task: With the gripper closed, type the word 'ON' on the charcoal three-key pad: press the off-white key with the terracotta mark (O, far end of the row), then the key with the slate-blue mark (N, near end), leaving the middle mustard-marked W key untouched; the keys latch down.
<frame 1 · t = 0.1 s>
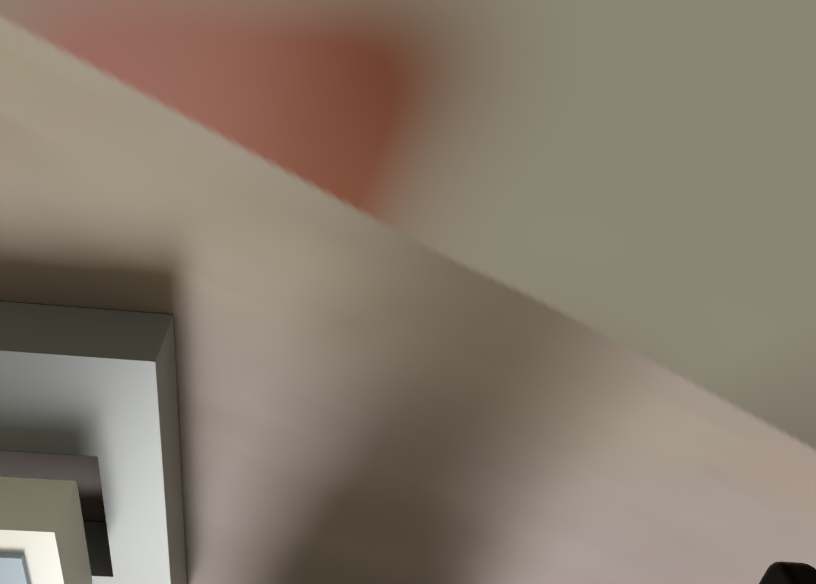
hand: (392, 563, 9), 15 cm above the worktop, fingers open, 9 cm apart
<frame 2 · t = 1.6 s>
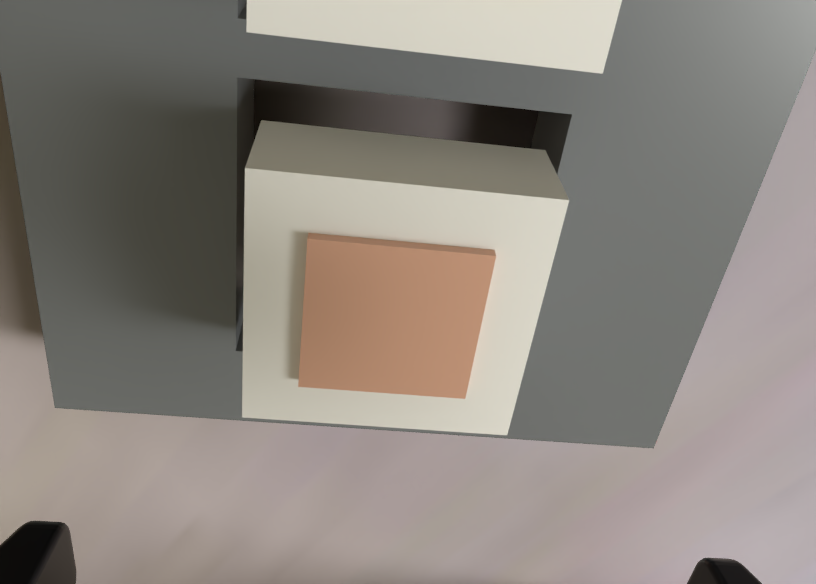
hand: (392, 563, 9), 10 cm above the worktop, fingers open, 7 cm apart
key O: (390, 289, 14), point 4 cm above the worktop, slide at 0.0 cm
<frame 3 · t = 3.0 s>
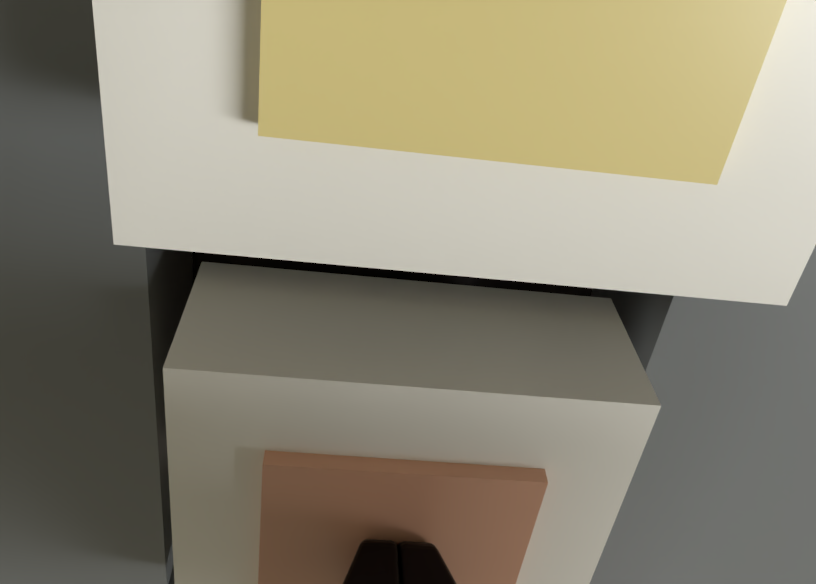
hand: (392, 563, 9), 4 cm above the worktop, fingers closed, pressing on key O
key O: (389, 493, 10), point 3 cm above the worktop, slide at 1.1 cm, touching gripper
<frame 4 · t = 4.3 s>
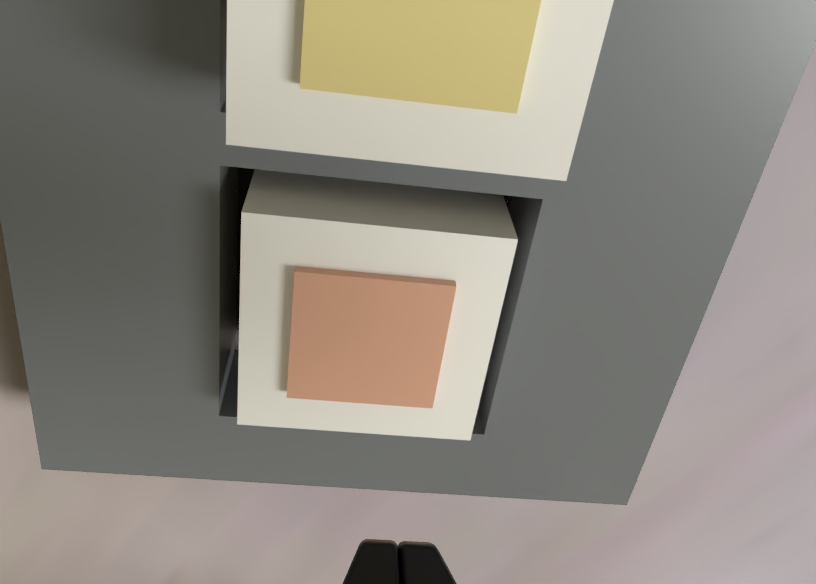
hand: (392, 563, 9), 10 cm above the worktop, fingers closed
key O: (367, 312, 16), point 2 cm above the worktop, slide at 1.8 cm
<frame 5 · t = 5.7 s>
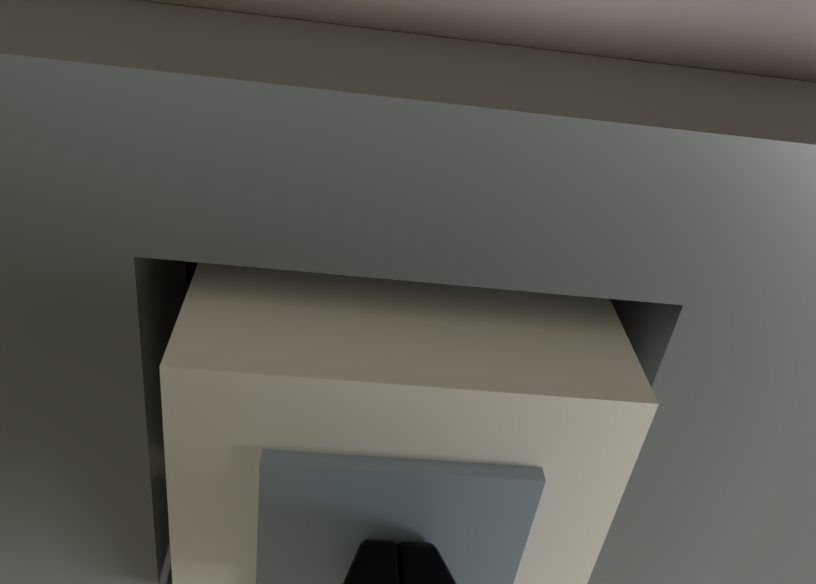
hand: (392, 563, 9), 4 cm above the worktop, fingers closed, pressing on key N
key N: (387, 492, 10), point 3 cm above the worktop, slide at 1.5 cm, touching gripper
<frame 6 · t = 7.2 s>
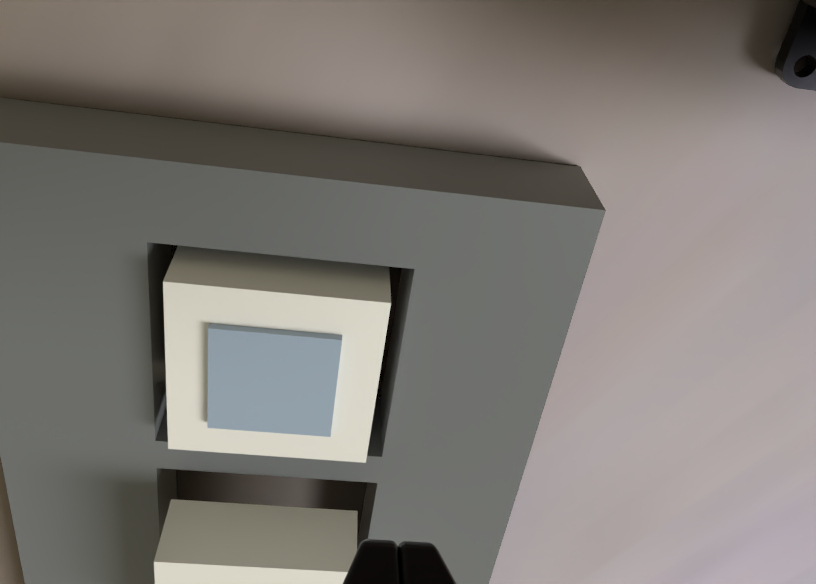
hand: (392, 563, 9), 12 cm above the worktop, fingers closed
keypad board: (272, 486, 25), on the worktop
key N: (277, 356, 19), point 2 cm above the worktop, slide at 1.8 cm
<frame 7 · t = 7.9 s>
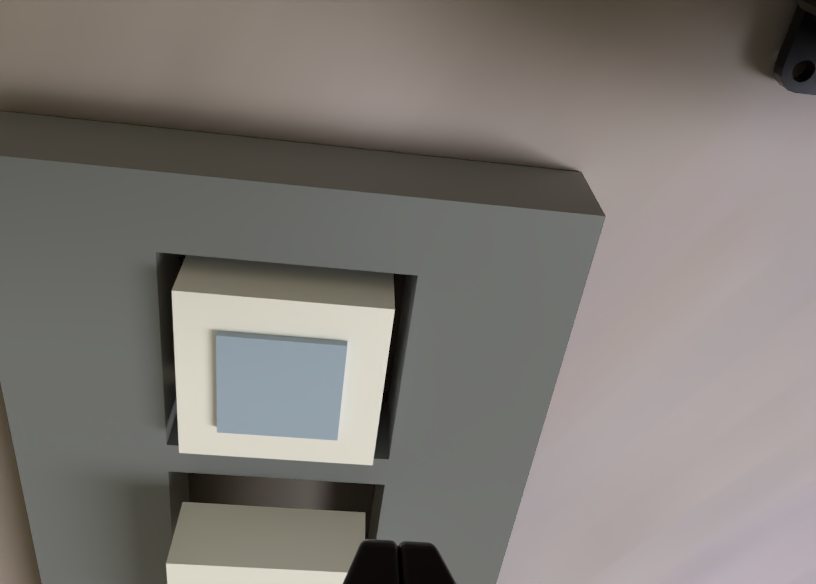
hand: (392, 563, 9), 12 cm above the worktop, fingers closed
keypad board: (282, 487, 25), on the worktop
key N: (284, 362, 19), point 2 cm above the worktop, slide at 1.8 cm
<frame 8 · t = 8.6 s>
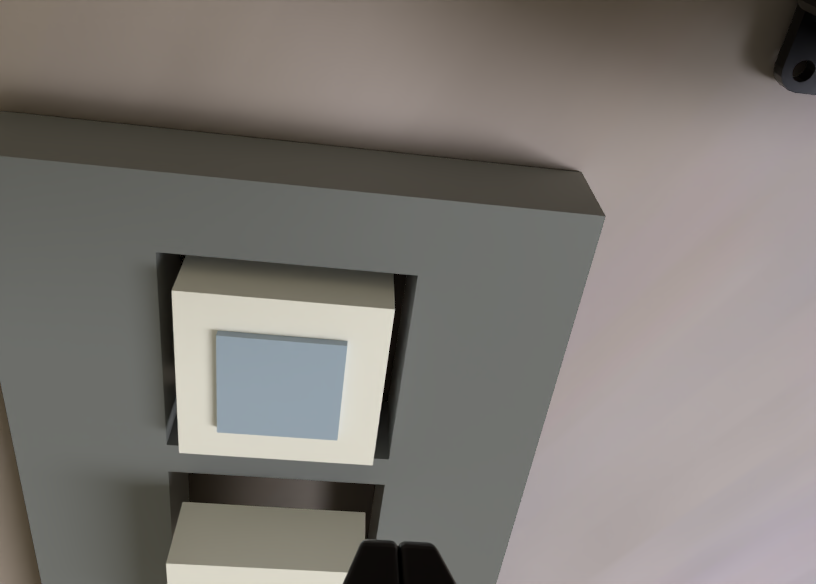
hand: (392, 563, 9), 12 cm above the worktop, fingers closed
keypad board: (282, 487, 25), on the worktop
key N: (284, 362, 19), point 2 cm above the worktop, slide at 1.8 cm
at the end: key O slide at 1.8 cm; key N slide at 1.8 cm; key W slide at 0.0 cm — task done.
